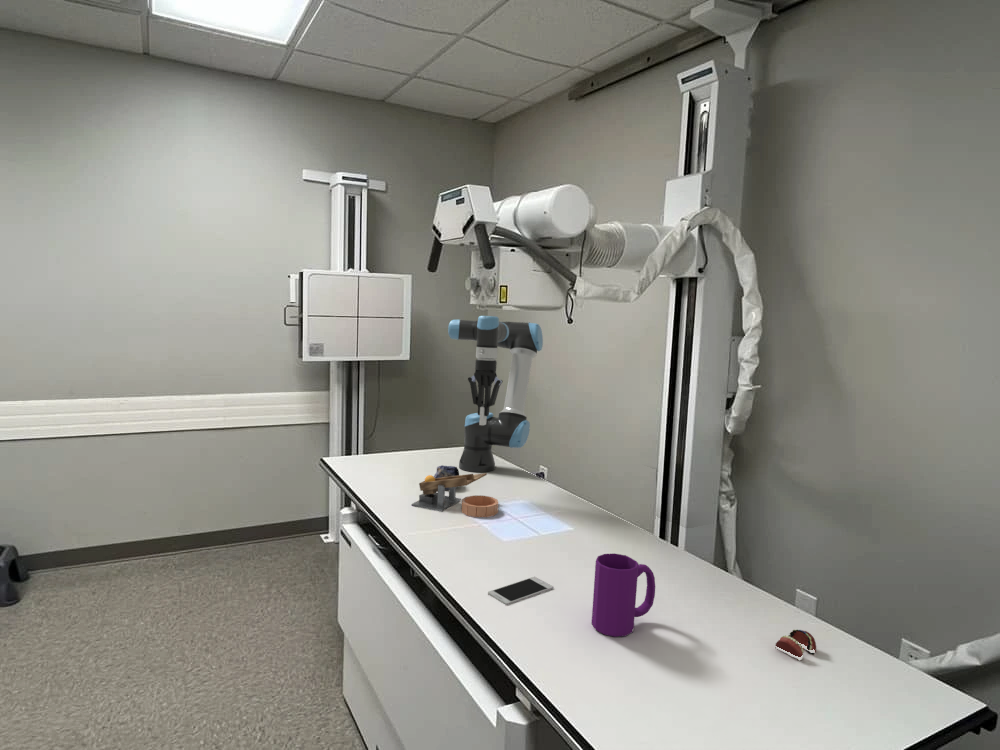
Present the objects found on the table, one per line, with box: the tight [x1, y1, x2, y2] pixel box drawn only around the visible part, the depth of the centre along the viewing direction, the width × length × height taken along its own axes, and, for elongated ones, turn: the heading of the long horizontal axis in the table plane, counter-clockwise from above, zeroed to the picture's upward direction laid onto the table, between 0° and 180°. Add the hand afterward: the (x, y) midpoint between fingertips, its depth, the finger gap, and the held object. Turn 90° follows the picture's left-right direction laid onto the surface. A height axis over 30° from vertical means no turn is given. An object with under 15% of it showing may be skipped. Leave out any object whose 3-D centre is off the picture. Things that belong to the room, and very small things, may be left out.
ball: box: [424, 474, 435, 482], centre depth 217 cm, size 4×4×4 cm
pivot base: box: [411, 485, 462, 512], centre depth 216 cm, size 12×14×8 cm
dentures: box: [775, 629, 817, 657], centre depth 131 cm, size 6×4×8 cm
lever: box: [418, 472, 488, 495], centre depth 218 cm, size 18×15×4 cm
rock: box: [433, 464, 460, 491], centre depth 236 cm, size 11×10×10 cm
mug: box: [591, 553, 656, 638], centre depth 138 cm, size 9×16×15 cm, turn 118°
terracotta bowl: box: [460, 495, 499, 518], centre depth 210 cm, size 12×12×4 cm
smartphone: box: [487, 576, 554, 606], centre depth 153 cm, size 7×15×1 cm, turn 130°
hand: (482, 424), depth 227 cm, fingers closed
